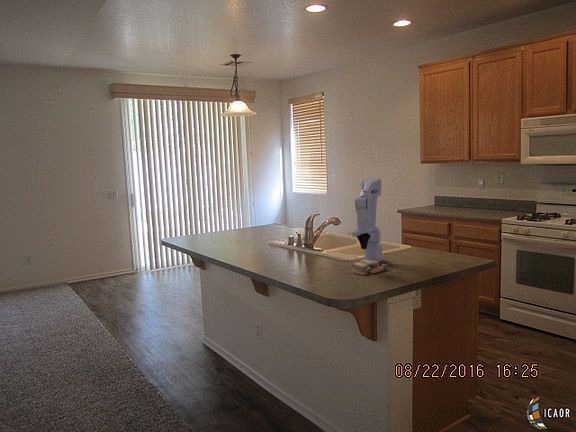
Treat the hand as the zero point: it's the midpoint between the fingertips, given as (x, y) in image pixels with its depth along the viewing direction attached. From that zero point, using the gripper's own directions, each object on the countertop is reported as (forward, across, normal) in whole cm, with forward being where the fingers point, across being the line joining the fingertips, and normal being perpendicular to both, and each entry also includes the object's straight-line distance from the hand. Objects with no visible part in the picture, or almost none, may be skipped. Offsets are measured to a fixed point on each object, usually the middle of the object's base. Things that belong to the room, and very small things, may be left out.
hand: (364, 248), depth 238 cm
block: (+10, +4, +4) cm, 11 cm away
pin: (+10, +4, +3) cm, 11 cm away
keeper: (+10, +1, +10) cm, 14 cm away
